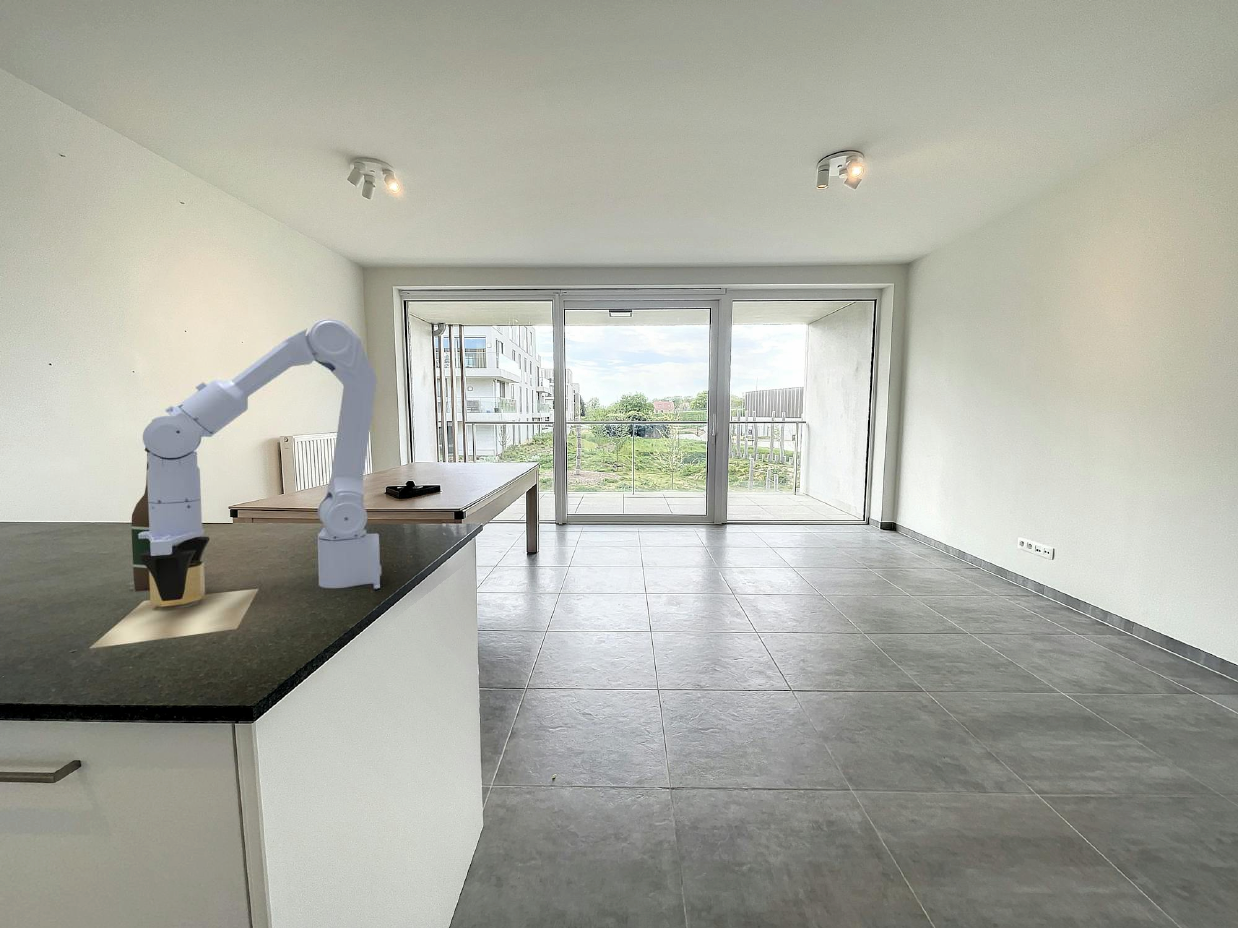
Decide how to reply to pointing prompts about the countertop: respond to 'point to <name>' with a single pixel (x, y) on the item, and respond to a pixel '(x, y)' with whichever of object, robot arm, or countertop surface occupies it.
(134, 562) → the beer bottle
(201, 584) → the collar ring
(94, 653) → the countertop surface
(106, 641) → the board
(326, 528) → the robot arm
